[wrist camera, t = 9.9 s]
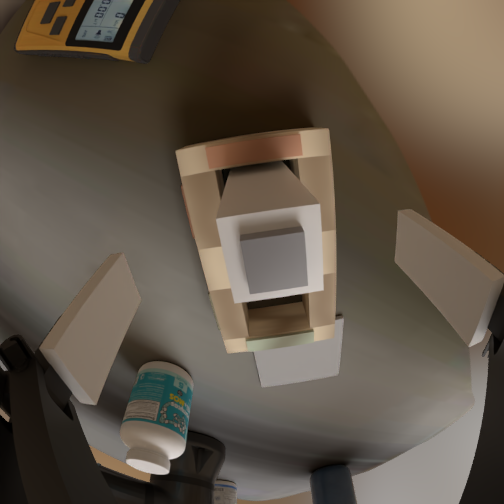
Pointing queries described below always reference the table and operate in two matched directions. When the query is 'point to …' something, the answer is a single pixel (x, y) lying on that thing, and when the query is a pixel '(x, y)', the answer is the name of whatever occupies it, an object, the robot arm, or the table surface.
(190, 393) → the pill bottle
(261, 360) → the mat
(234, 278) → the plug
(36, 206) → the table surface
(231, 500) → the supplement tub
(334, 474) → the lamp
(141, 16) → the electronic device
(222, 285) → the socket block
